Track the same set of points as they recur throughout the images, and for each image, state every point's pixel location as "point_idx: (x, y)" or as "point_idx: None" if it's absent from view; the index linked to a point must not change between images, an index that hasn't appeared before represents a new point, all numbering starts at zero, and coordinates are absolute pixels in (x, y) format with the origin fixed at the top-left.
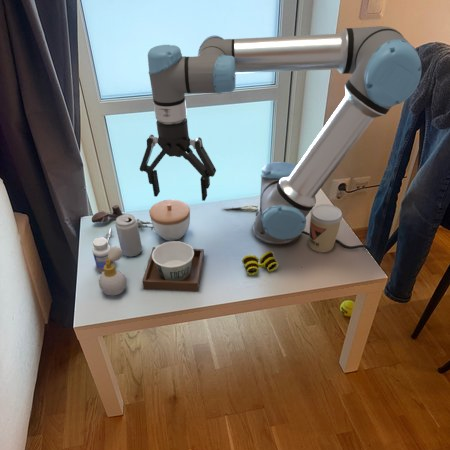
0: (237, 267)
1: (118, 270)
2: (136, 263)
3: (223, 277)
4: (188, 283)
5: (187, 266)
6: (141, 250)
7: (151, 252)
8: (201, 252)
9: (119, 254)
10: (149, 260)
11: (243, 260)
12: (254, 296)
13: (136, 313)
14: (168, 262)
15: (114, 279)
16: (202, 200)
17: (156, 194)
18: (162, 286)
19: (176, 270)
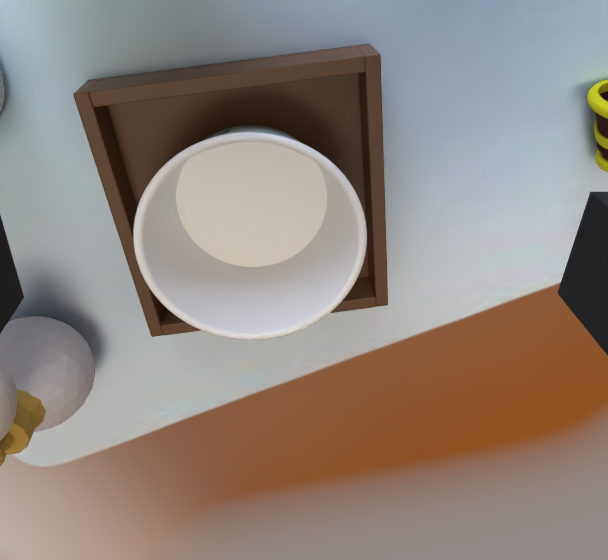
0: (547, 100)
1: (36, 378)
2: (33, 166)
3: (478, 183)
4: (349, 308)
5: (336, 266)
6: (1, 76)
7: (90, 143)
8: (372, 90)
9: (11, 414)
10: (114, 209)
11: (602, 114)
12: None
13: (188, 408)
14: (201, 154)
15: (54, 421)
16: (561, 291)
17: (12, 313)
18: None
19: (293, 304)
